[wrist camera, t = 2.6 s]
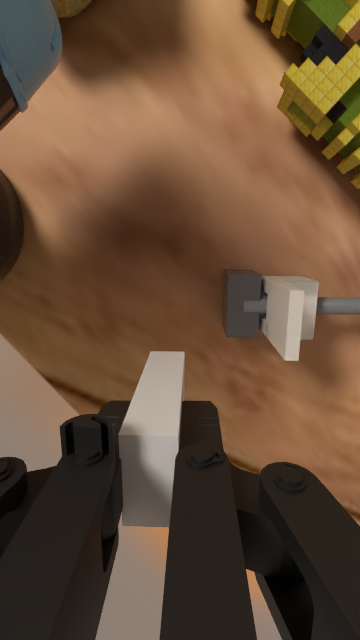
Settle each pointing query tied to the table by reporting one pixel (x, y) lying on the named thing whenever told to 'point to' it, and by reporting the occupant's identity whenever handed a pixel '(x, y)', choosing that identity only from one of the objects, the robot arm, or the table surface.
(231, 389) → the table surface
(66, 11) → the stone
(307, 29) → the toy
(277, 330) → the cream l-shaped block
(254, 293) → the rail
